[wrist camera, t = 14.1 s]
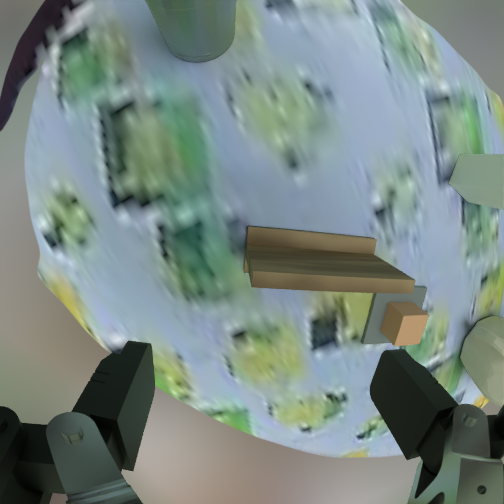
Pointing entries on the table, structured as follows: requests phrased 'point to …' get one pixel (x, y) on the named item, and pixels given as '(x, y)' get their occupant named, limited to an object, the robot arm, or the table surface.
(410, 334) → the letter cube
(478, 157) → the milk
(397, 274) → the walnut screen
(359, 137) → the table surface
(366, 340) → the slate pad
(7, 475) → the robot arm
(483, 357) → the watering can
